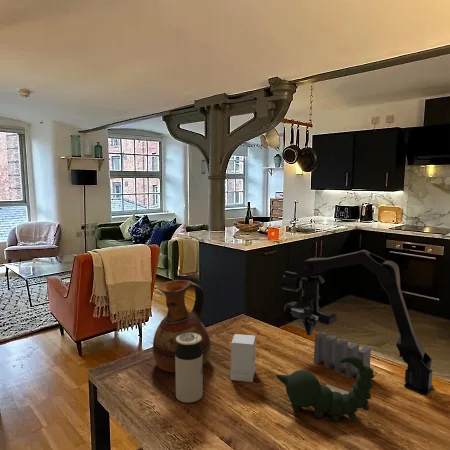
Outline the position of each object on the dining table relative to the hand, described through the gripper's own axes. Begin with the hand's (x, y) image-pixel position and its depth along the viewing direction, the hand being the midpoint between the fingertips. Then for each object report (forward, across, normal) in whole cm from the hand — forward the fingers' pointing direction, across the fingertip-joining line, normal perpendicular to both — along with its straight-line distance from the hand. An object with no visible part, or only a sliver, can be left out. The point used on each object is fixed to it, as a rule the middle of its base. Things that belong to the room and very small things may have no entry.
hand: (309, 335), depth 131 cm
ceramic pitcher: (+8, -27, -37) cm, 47 cm away
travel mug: (+8, -10, -47) cm, 49 cm away
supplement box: (+8, -7, -27) cm, 29 cm away
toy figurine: (+8, +21, -25) cm, 34 cm away
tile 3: (+8, +13, 0) cm, 15 cm away
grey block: (+8, +17, 0) cm, 19 cm away
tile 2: (+8, +9, 0) cm, 12 cm away
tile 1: (+8, +5, 0) cm, 10 cm away
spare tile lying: (+9, +21, -15) cm, 27 cm away
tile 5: (+8, +21, 0) cm, 22 cm away
